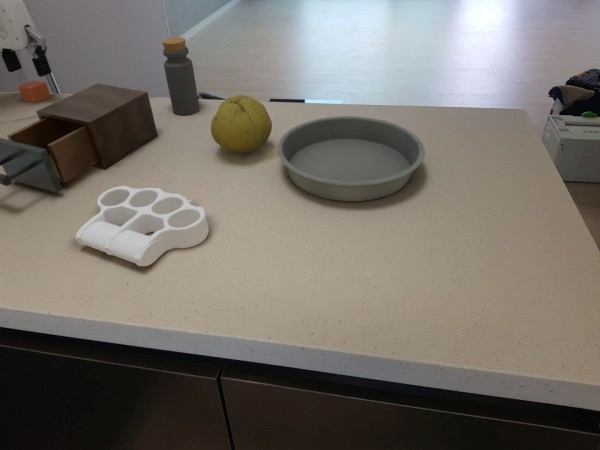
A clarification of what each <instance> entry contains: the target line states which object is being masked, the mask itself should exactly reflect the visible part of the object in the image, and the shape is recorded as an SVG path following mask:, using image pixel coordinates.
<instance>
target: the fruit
mask: <svg viewBox="0 0 600 450" xmlns="http://www.w3.org/2000/svg"><path fill="white" fill-rule="evenodd" d="M272 123H273V121H272V119H271V117H270V115H269V113H268V110H267V109H266V107H265V105H264V104H263V103H261V102H260V101H258V100H257V99H255V98H253V97H251V96H248V95H244V94H237V95H233V96H229V97H228V98H226V99H225V100H224V101H222V102H221V104H220V105H219V107H218V109H217V111H216V113H215V114H214V116H213V117H212V119H211V124H210V133H211V137H212V139H213V140H214V142H215V143H216V144H217V145H218V146H220V147H221V148H222V149H225V150H227V151H229V152H234V153H238V154H248V153H253V152H255V151H257V150H259V149H260V148H262V147H263V146H264V145H265V144H266V142H267V141H268V140H269V138H270V137H271V133H272V127H273V124H272Z"/></svg>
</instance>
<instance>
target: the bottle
mask: <svg viewBox="0 0 600 450" xmlns="http://www.w3.org/2000/svg"><path fill="white" fill-rule="evenodd" d="M186 41H187V40H186V38H185V37H181V36H173V37H172V36H171V37H166V38H164V39H162V40H161V44H162V45H163V49H162V54H163V56H164V57H166V60H165V61H164V63H163V67H164V74H165V78H166V83H167V88H168V93H169V98H170V103H171V108H172V112H173V113H174V114H175V115H178V116H189V115H193V114H197V112H199V111H200V102H199V101H200V100H199V95H198V89H197V83H196V77H195V72H194V65H193V61H192V59H190V58H189V57H187V55H188V54H189V48H188V47H187V46H186Z"/></svg>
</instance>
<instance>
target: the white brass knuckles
mask: <svg viewBox="0 0 600 450" xmlns="http://www.w3.org/2000/svg"><path fill="white" fill-rule="evenodd" d="M192 202H193V199H187V198H186V197H185V196H183V195H181V194H180V193H172V192H171V193H170V192H167V191H164V190H163V189H162V188H159V187H145V188H134V187H131V186H128V185H119V186H115V187H112V188H110V189H107V190H105V191H104V192H102V193H101V194H100V195H99V196H98V197H97V200H96V204H97V207H98V210H99V212H98V213H97V214H95V215H94V216H92V217H91V218H90V219H89V220H88V221H86V222H85V223H84V224H82V225H81V227H80V228H79V229H78V231H77V232H76V233H75V236H74V238H75V241H76V243H78V245H80V246H87V247H90V248H93V249H95V250H97V251H100V252H103V253H106V254H107V255H108V256H114V257H117V258H119V259H123V260H125V261H127V262H131V263H132V264H133V263H134V264H136V266H138V267H148V266H150V265H152V264H153V263H155V262H156V261H157V260H158V259H159V258H161V256H162V255H164V254H165V253H166V252H167V251H170V250H173V249H188V248H192V247H195V246H198V245H200V244H201V243H203V242H204V241H205V240H206V239H207V237H208V236H209V231H210V230H209V223H208V219H207V214H206V210H205V209H204V208H203V207H202V206H196V205H193V204H192ZM149 233H153V234H151V235H148V234H149Z"/></svg>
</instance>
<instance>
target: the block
mask: <svg viewBox="0 0 600 450" xmlns="http://www.w3.org/2000/svg"><path fill="white" fill-rule="evenodd" d="M18 90H19V92H20V95H21V97H22V100H23V101H25V102H30V103H35V104H37V103H39V102H41V101H44V100H46V99H48V98H51V92H50V91H49V88H48V85H47V82H45V81H39V80H35V79H33V80H29V81H27V82H25V83H22V84H21V85H18Z"/></svg>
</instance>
